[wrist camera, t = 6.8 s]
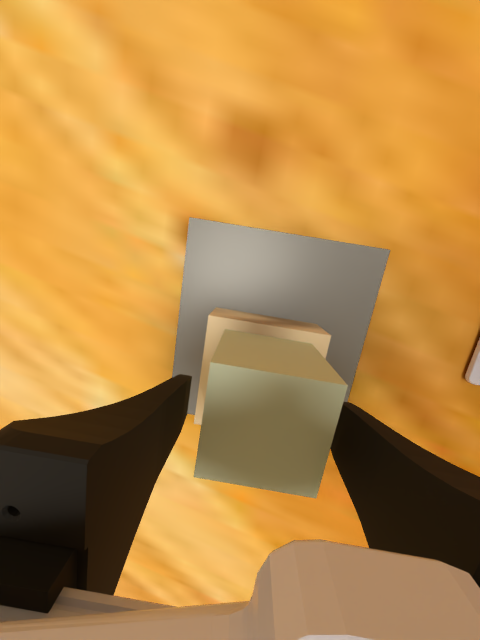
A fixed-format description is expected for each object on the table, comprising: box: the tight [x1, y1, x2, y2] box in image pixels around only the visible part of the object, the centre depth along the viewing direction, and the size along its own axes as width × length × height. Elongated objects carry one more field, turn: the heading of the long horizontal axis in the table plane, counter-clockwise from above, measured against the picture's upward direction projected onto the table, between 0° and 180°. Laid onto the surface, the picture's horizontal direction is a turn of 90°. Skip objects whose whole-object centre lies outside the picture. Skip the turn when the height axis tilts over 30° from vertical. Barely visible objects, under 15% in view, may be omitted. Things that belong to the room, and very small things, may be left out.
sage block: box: [194, 329, 348, 498], centre depth 11 cm, size 5×5×5 cm
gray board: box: [172, 218, 390, 415], centre depth 17 cm, size 13×14×1 cm
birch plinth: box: [194, 307, 331, 425], centre depth 15 cm, size 7×7×3 cm
